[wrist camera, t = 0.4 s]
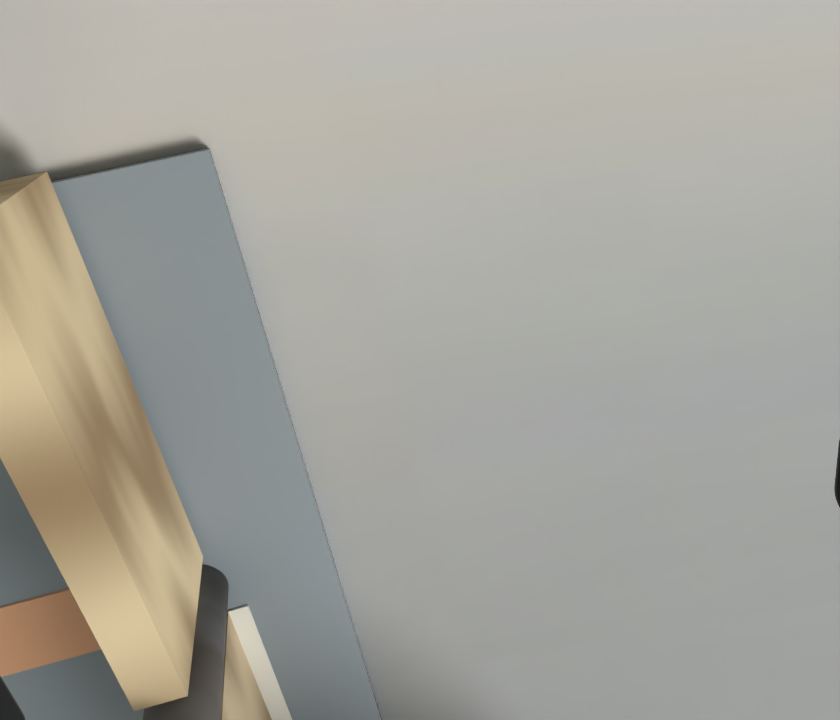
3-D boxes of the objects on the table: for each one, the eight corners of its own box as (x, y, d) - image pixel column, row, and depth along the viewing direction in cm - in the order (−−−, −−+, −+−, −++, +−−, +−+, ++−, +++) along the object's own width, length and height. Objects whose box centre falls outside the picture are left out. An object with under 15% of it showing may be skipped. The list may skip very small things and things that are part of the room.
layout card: (402, 788, 27) (403, 797, 27) (-62, 931, 26) (-66, 942, 26) (209, 147, 17) (208, 150, 16) (-606, 321, 15) (-625, 328, 15)
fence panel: (203, 556, 21) (187, 696, 16) (160, 568, 21) (134, 711, 16) (47, 171, 16) (-34, 228, 11) (-10, 183, 16) (-112, 245, 11)
